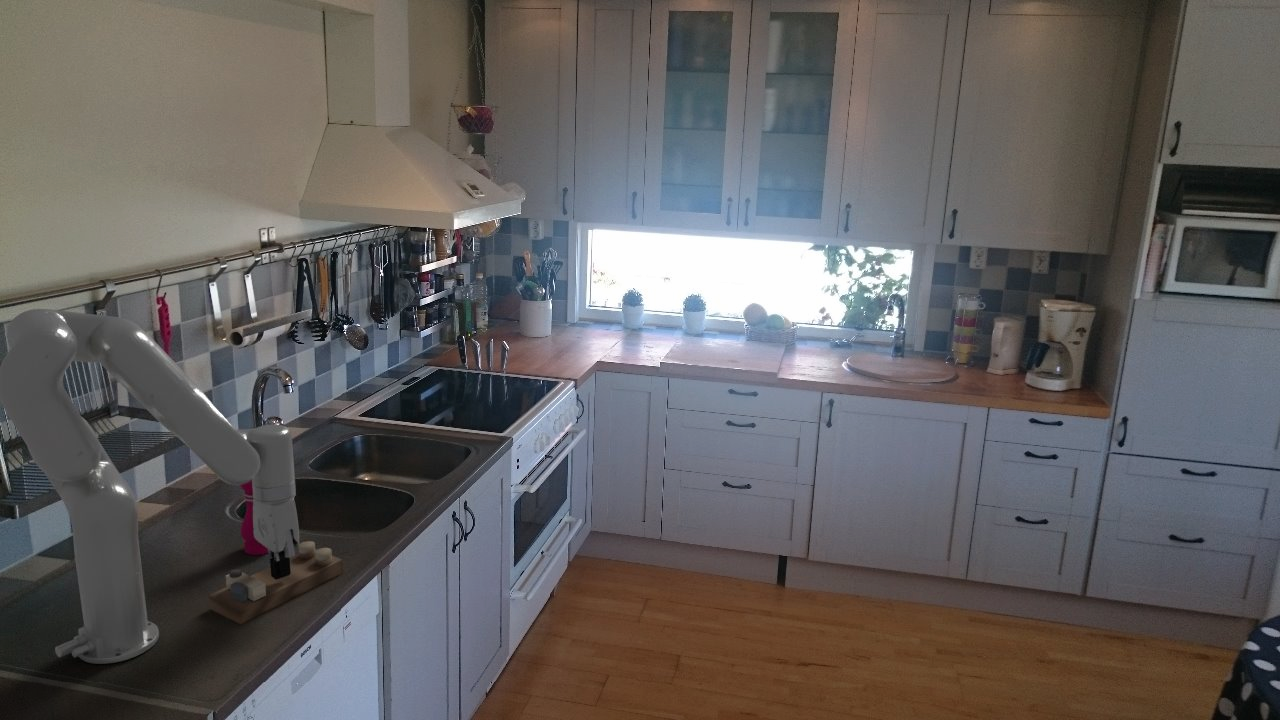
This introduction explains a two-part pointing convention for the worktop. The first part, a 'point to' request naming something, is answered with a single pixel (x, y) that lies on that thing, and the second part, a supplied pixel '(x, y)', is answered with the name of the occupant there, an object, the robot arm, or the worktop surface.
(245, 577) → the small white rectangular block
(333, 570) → the rectangular wooden board
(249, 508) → the pepper mill
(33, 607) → the worktop surface
